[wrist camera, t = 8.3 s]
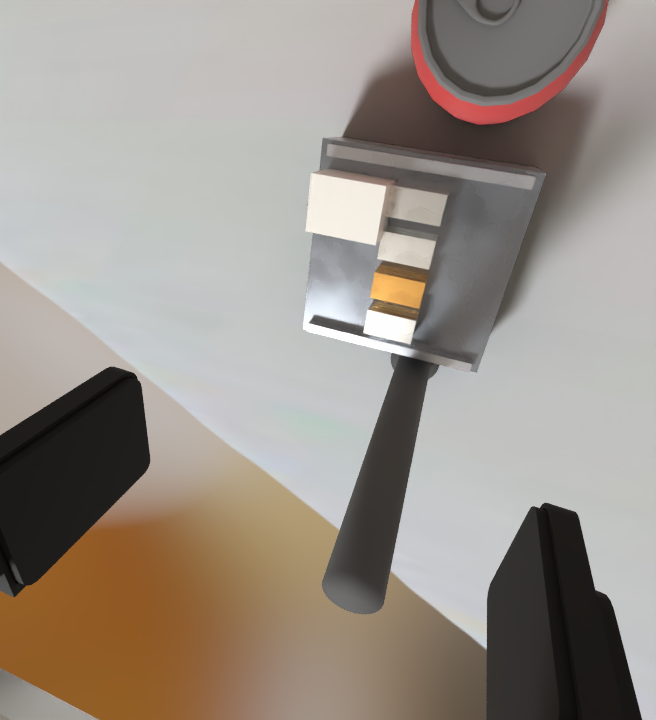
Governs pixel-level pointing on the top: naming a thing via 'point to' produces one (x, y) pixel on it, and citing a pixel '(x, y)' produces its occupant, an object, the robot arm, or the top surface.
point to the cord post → (379, 495)
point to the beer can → (501, 52)
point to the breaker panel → (454, 266)
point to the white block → (348, 205)
